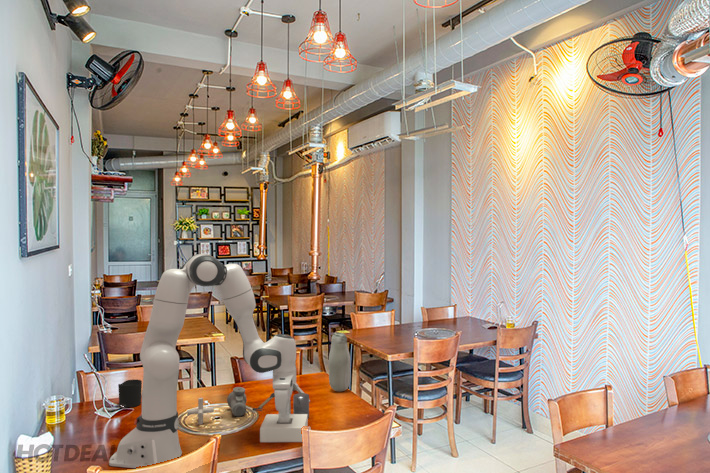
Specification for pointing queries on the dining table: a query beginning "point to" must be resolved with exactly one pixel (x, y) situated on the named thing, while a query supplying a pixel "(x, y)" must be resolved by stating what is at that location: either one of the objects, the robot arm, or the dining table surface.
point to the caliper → (297, 388)
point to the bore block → (282, 428)
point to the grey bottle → (339, 363)
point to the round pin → (301, 404)
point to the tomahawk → (264, 403)
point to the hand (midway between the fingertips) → (284, 414)
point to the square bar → (288, 415)
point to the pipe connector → (200, 411)
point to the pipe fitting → (237, 401)
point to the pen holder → (130, 393)
